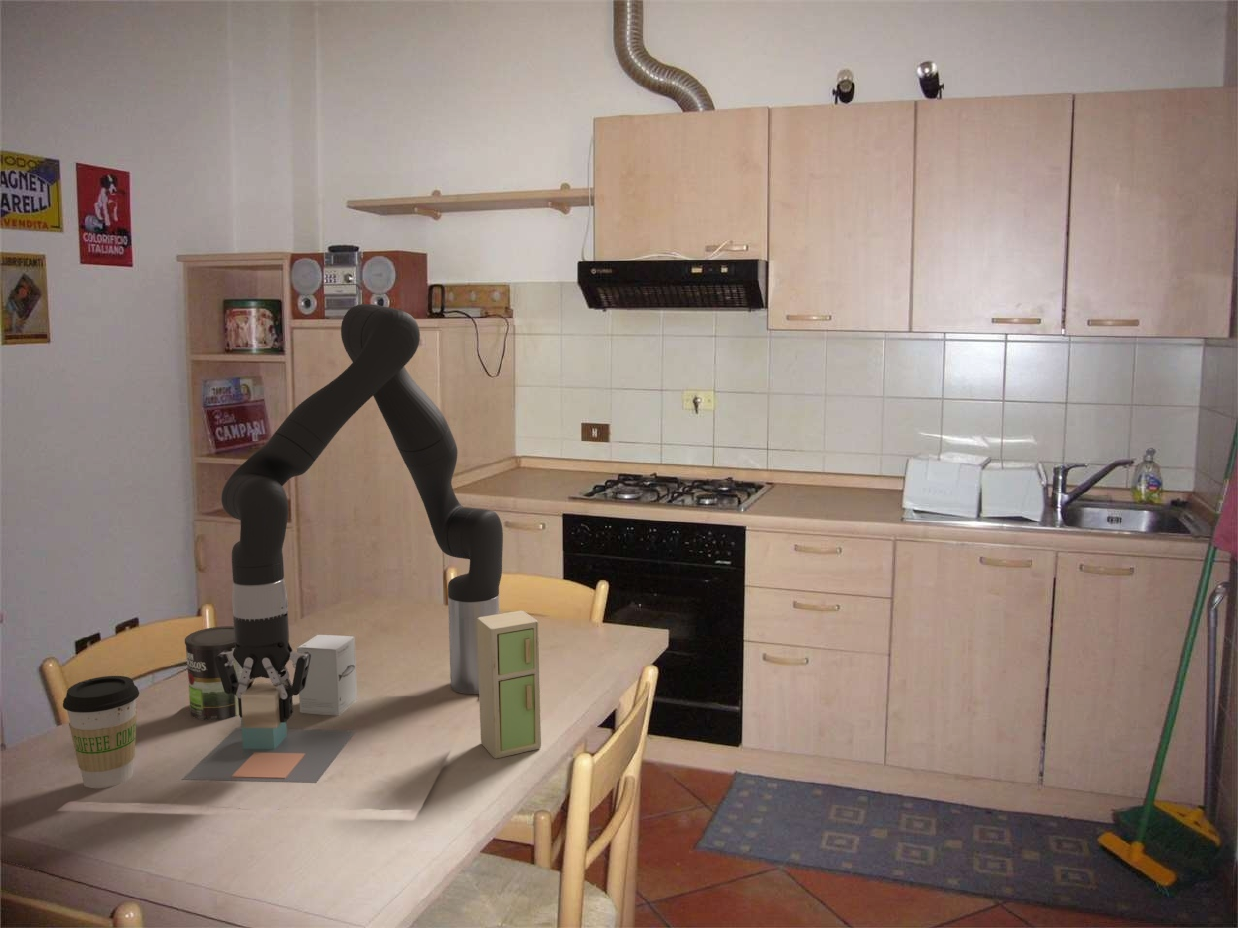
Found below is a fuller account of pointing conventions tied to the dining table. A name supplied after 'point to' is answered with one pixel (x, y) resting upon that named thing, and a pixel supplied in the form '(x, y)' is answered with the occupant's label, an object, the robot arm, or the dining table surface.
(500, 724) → the toy refrigerator
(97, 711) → the coffee cup
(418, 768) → the dining table surface
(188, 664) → the coffee can
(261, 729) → the teal block
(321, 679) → the supplement box
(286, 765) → the baseplate
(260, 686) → the ash block
